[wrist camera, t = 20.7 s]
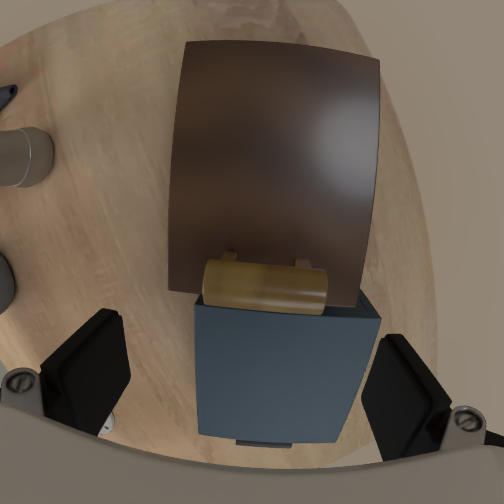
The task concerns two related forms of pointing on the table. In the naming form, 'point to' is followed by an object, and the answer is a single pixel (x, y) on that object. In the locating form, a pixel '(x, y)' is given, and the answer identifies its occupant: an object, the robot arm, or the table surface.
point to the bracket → (7, 94)
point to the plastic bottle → (24, 157)
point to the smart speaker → (6, 285)
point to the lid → (272, 175)
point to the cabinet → (280, 370)
